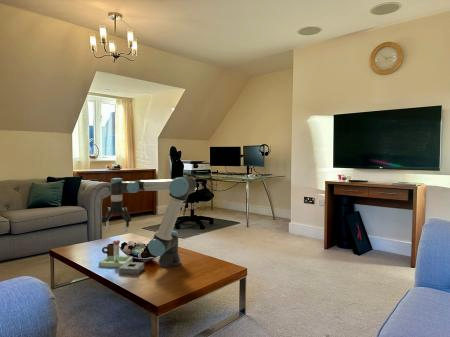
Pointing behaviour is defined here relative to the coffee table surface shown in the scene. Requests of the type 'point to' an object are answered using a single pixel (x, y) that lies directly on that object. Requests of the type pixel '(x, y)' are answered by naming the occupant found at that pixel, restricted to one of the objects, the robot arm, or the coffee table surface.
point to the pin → (116, 251)
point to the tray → (110, 262)
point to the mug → (109, 250)
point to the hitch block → (131, 268)
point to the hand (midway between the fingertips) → (116, 231)
